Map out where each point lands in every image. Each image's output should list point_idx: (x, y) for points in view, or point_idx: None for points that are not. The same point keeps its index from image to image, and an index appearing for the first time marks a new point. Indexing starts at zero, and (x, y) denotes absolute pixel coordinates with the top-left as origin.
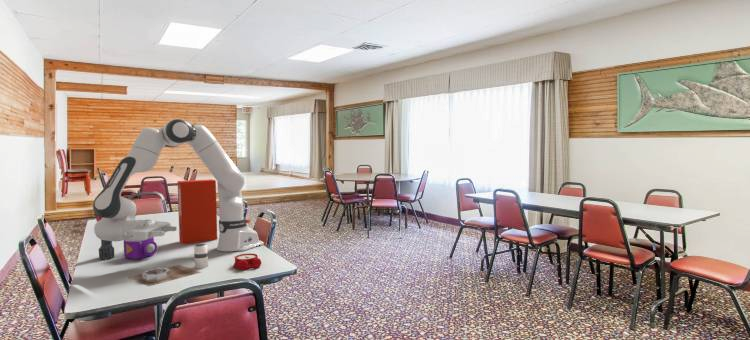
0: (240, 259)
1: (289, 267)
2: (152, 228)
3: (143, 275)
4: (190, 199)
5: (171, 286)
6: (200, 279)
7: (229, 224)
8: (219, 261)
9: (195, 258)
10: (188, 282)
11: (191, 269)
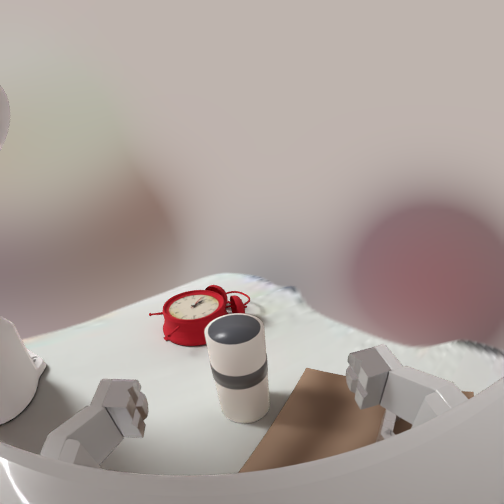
0: (223, 304)
1: (215, 275)
2: (413, 437)
3: None
4: None
5: None
6: (344, 354)
7: None
8: (145, 392)
9: (265, 378)
10: None
11: (286, 409)
